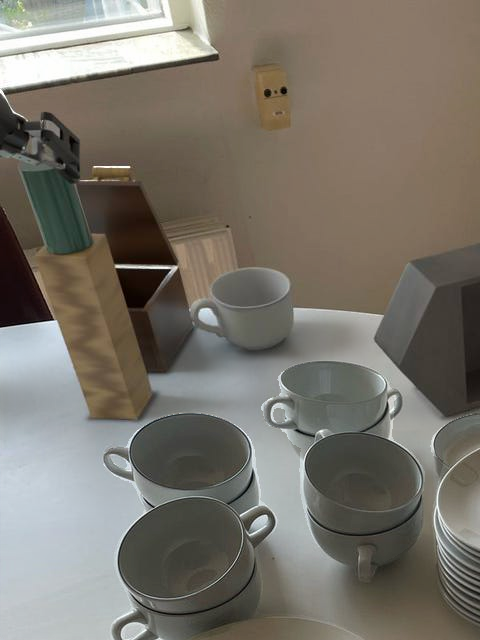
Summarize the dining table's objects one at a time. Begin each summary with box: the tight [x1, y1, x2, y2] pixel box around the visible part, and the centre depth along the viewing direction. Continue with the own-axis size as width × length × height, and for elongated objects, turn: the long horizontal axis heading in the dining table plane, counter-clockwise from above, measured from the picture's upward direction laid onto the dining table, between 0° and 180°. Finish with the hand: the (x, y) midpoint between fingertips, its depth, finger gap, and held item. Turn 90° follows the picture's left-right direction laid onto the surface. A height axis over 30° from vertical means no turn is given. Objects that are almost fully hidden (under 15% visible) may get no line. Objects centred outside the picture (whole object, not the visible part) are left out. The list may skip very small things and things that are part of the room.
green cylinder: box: [17, 152, 94, 255], centre depth 111 cm, size 5×5×9 cm
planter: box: [373, 242, 480, 417], centre depth 123 cm, size 17×8×21 cm
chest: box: [114, 264, 195, 374], centre depth 136 cm, size 13×11×9 cm
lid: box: [76, 166, 179, 266], centre depth 132 cm, size 14×11×5 cm
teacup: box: [189, 266, 295, 351], centre depth 137 cm, size 14×11×8 cm
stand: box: [33, 234, 154, 420], centre depth 121 cm, size 6×6×21 cm
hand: (35, 175), depth 106 cm, fingers open, 8 cm apart
